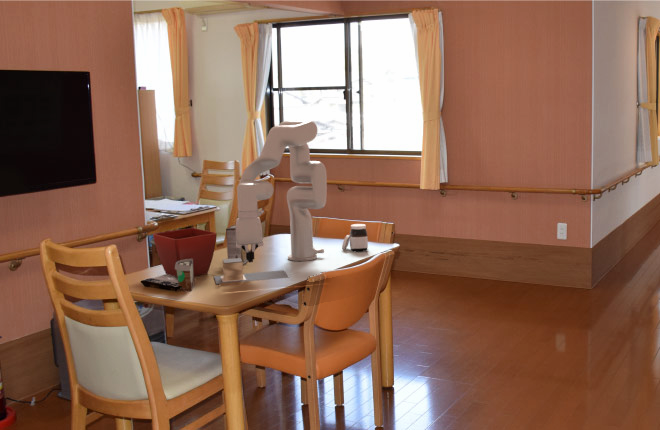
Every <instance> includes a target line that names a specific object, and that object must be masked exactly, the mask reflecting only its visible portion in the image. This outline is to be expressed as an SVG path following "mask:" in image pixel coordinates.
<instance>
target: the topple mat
mask: <svg viewBox="0 0 660 430" xmlns="http://www.w3.org/2000/svg"><path fill="white" fill-rule="evenodd" d="M213 278H214V281H215V284H216V285H217V286H220V284H229V283H240V282H252V281H253V282H254V281H264V280H276V279H277V280H279V279H289V278H290V276H289V275H288V273H287V272H286V271H285V270H282V269H281V270H271V271H257V272H245V273H243V279H241V280H229V281H225V279H224V277H223V274H221V275H213Z"/></svg>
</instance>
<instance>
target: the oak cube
mask: <svg viewBox="0 0 660 430" xmlns="http://www.w3.org/2000/svg"><path fill="white" fill-rule="evenodd" d="M221 260H222V273H223V274H222V275H223V277H224V279H225V281H229V280H241V279H243V274H244V268H243V267H244V265H243V262H242V260H241V258H233V259H228V258H223V259H221Z"/></svg>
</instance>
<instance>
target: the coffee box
mask: <svg viewBox="0 0 660 430" xmlns="http://www.w3.org/2000/svg"><path fill="white" fill-rule="evenodd" d="M225 234H226V235H225V237H226V252H227V254H226V255H227V259H233V258H241V260H242V262H243V266H244V265H245V264H246V263H249V262H248V260H246V251H245V250H243V249H242V248H237V247H236V224H234V225H231V226H228V227H227V228H225Z"/></svg>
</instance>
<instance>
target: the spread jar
mask: <svg viewBox="0 0 660 430" xmlns="http://www.w3.org/2000/svg"><path fill="white" fill-rule="evenodd" d="M366 228H367V225H366V224H364V223H354V224H350V231H349V234H346V236H344V239H343V241H342V246H341V249H342V250H344V251H345V250H347V249H348V248H347V247H348V246H349V247H350V250H351V252H354V251H356V252H355V253H362V252H366V251H367V250H368V249H369V248H368V247H369V246H368V245H369V244H368V243H369V240H368V231H367V229H366Z"/></svg>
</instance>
